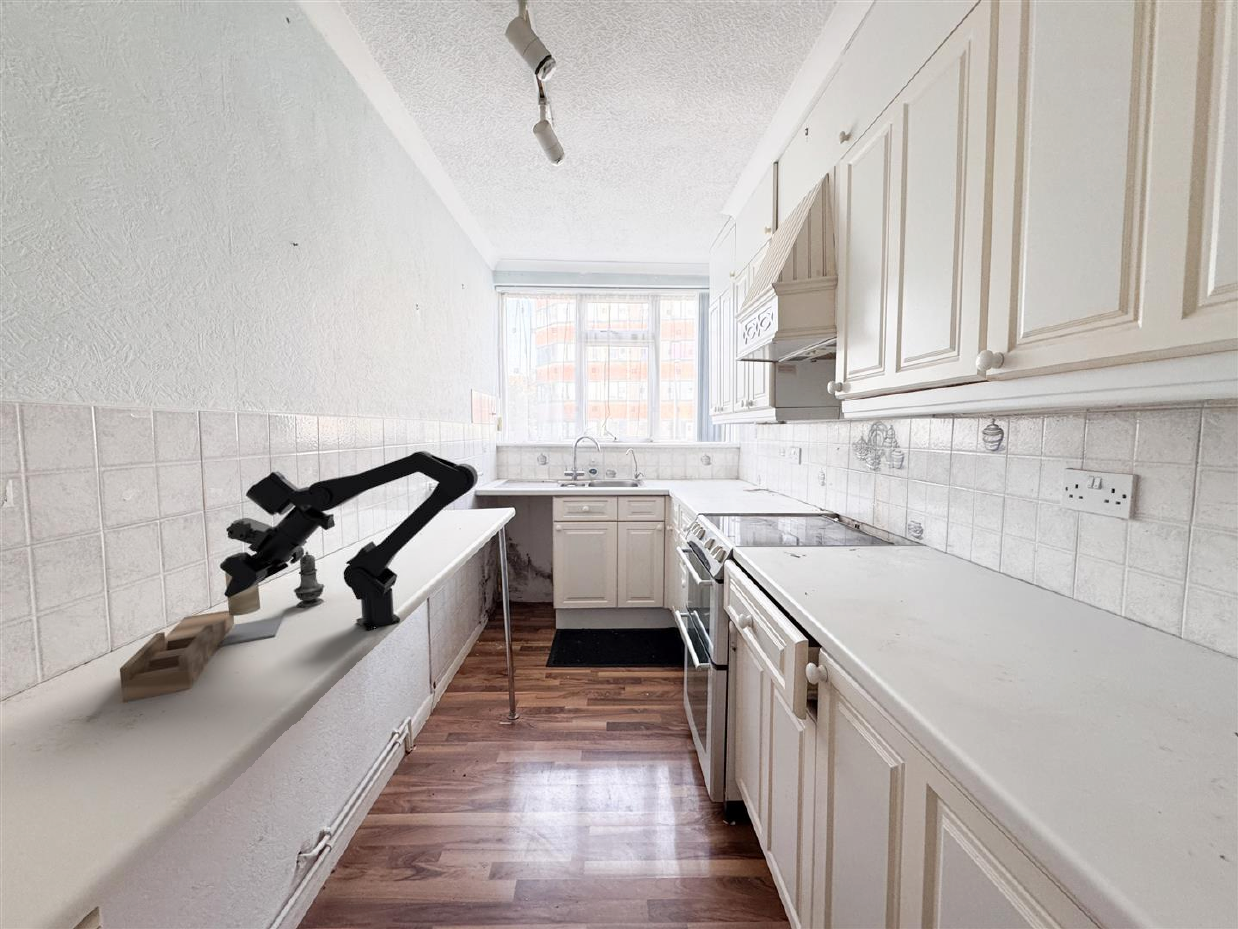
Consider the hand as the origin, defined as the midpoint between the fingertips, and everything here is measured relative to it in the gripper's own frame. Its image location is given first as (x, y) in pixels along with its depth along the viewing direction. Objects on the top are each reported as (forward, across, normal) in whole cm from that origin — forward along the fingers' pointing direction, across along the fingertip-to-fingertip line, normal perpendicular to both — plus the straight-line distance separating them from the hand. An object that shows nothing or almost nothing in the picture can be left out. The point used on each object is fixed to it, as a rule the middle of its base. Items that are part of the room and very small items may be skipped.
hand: (235, 591), depth 94 cm
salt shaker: (+2, -15, +10) cm, 18 cm away
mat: (+4, 0, +8) cm, 9 cm away
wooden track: (+8, +9, +4) cm, 13 cm away
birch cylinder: (+2, 0, +4) cm, 4 cm away
